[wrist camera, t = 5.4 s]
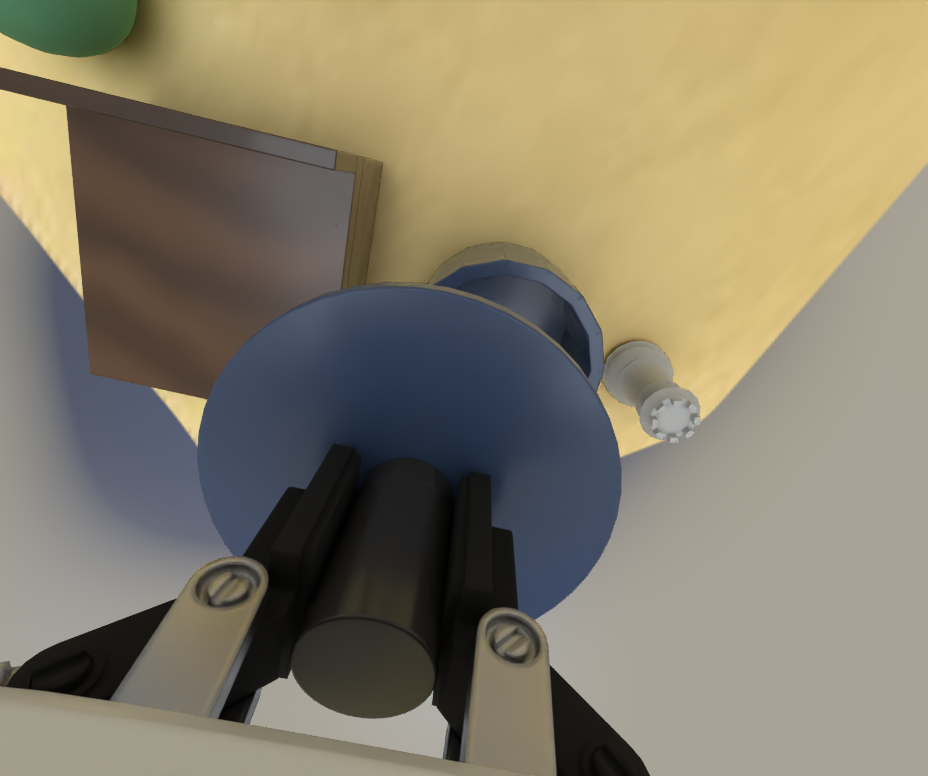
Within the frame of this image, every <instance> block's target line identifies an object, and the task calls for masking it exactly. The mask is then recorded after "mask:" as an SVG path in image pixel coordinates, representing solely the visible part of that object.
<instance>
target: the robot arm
mask: <svg viewBox="0 0 928 776" xmlns="http://www.w3.org/2000/svg"><path fill="white" fill-rule="evenodd" d="M361 459H362V455H361V454H356V453H355V448H354V447H350V446H345V445H340V444H333V445H332V447H331V448H330V450H329V452H328V453H327V455H326V457H325V458H324V460H323V462H322V463H321V465H320V467H319V468H318V470H317V472H316V473H315V475H314V477H313V478H312V480H311V482H310V483H309V485H308V487H307V488H306V489H301V488H296V487H288V489H287V490H286V491H285V492H284V494H283V495H282V497H281V498H280V500H279V501H278V503H277V504H276V506H275V507H274V509H273V510H272V512H271V513H270V515H269V517H268V518H267V520H266V521H265V523H264V524H263V526H262V527H261V529H260V530H259V532H258V533H257V535H256V536H255V538H254V539H253V541H252V542H251V544H250V545H249V547H248V548H247V550H246V551H245V553H244V554H243V556H231V557H225V558H220V559H217V560H214V561H212V562H209V563H207V564H206V565H204V566H203V567H201V568H200V569H198V570H197V571H196V573H194V575H193V576H192V577H191V578H190V579H189V581H188V582H187V584H186V585H185V587H184V588H183V590H182V592H181V593H180V594H179V596H178V598H176V599H174V600H171V601H169V602H166V603H163V604H161V605H158V606H155V607H153V608H150V609H147V610H145V611H142V612H140V613H137V614H135V615H132V616H129V617H126V618H124V619H121V620H118V621H116V622H113V623H111V624H108V625H105V626H103V627H100V628H97V629H95V630H92V631H89V632H87V633H84V634H82V635H79V636H76V637H74V638H71V639H68V640H66V641H63V642H61V643H58V644H56V645H54V646H51V647H49V648H47V649H45V650H43V651H41V652H39V653H38V654H36V655H35V656H34V657H32V658H31V659H29V660H28V661H27V662H25V663H24V664H23V665H22V666H17V667H12V668H11V666H10V662H9V661H6V662H1V663H0V776H650V775H649V773H648V771H647V769H646V767H645V765H644V763H643V761H642V760H641V758H640V757H639V756H638V755H637V754H636V753H635V751H634V750H633V749H632V748H631V747H630V746H629V745H628V744H627V742H626V741H625V740H624V739H623V738H622V737H621V736H620V735H619V734H618V733H617V732H616V731H615V730H614V729H613V728H612V727H611V726H610V725H609V724H608V723H607V722H606V721H605V720H604V719H603V718H602V717H601V716H600V715H599V714H598V713H597V712H596V711H595V710H594V709H593V708H592V707H591V706H590V705H589V704H588V703H587V702H586V701H585V700H584V699H583V698H582V697H581V696H580V695H579V694H578V693H577V692H576V691H575V690H574V689H573V688H572V687H571V686H570V685H569V684H568V683H567V682H566V681H565V680H564V679H563V678H562V677H561V676H560V675H559V674H558V673H557V672H556V671H555V670H554V669H553V668H552V667H551V666H550V665H549V649H548V642H547V639H546V635H545V633H544V632H543V630H542V628H541V627H540V625H539V624H538V623H537V622H536V621H535V620H534V619H533V618H532V617H530V616H529V615H527V614H526V613H524V612H522V611H519V610H518V597H517V584H516V570H515V557H514V544H513V534H512V531H511V530H508V529H503V528H498V527H493V526H492V510H491V475H488V474H483V473H478V472H473V471H470V474H469V476H465V475H461V479H460V483H459V487H458V491H457V495H456V499H455V503H454V509H453V519H452V529H451V539H450V548H449V558H448V568H447V577H446V587H445V597H444V606H443V616H442V626H441V630H442V641H441V651H440V662H439V672H438V679H437V683H436V685H435V688H434V691H433V701H432V705H434V706H437V708H438V710H439V711H440V712H441V714H442V715H443V716H444V718H445V719H446V720H447V722H448V727H447V731H446V738H445V746H444V753H443V759H440V758H435V757H429V756H423V755H418V754H413V753H407V752H402V751H396V750H390V749H385V748H379V747H373V746H368V745H363V744H357V743H351V742H346V741H340V740H334V739H329V738H323V737H318V736H312V735H306V734H301V733H295V732H289V731H283V730H278V729H272V728H267V727H261V726H255V725H249V724H250V721H251V718H252V716H253V714H254V711H255V708H256V705H257V703H258V700H259V698H260V694H261V689H262V687H263V686H265V685H267V684H269V683H271V682H273V681H274V680H276V679H278V678H279V677H280V678H285V679H287V678H288V675H289V673H290V671H291V665H290V653H291V647H292V645H293V643H294V640H295V638H296V635H297V633H298V631H299V628H300V626H301V624H302V621H303V619H304V616H305V614H306V612H307V609H308V607H309V605H310V602H311V600H312V598H313V595H314V593H315V591H316V588H317V586H318V583H319V581H320V579H321V576H322V574H323V572H324V569H325V567H326V565H327V562H328V560H329V558H330V555H331V553H332V550H333V548H334V546H335V543H336V541H337V539H338V536H339V534H340V532H341V529H342V527H343V524H344V522H345V520H346V517H347V515H348V513H349V510H350V508H351V506H352V503H353V501H354V499H355V496H356V494H357V487H358V480H359V473H360V466H361Z"/></svg>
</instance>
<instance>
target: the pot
mask: <svg viewBox="0 0 928 776" xmlns="http://www.w3.org/2000/svg"><path fill="white" fill-rule="evenodd" d="M428 284H430V285H436V286H443V287H449V288H453V289H456V290H460V291H463V292H467V293H470V294H474V295H477V296H480V297H483V298H485V299H487V300H490V301H492V302H494V303H496V304H499V305H501V306H503V307H506V308H508V309H510V310H511V311H513V312H515V313H516V314H518V315H520V316H521V317H523V318H525V319H526V320H528V321H530V322H531V323H533V324H535V325H536V326H537V327H538V328H540V329H541V330H542V331H543V332H545V333H546V334H547V335H548V336H550V337H551V338H552V339H553V340H555V341H556V342H557V343H558V344H559V345H560V346H561V347H562V348H563V349H564V350H565V351H566V352H567V353H568V354H569V355H570V356H571V358H572V359H573V360H574V361H575V362H576V363H577V364H578V365H579V367H580V368H581V370H582V371H583V372H584V374H585V375H586V377H587V378H588V380H589V381H590V382H591V384H592V385H593V387H594V388H595V390H596V392H597V389H598V386H599V384H600V381H601V378H602V375H603V373H604V354H603V339H602V331H601V328H600V326H599V325H598V323H597V321H596V319H595V317H594V315H593V313H592V312H591V310H590V308H589V306H588V304H587V302H586V300H585V299H584V297H583V296H582V294H581V293H580V292H579V291H578V290H577V289H576V288H575V287H574V285H573V284H572V283H571V282H570V281H569V280H568V279H567V278H566V277H565V276H564V274H563V273H562V272H561V271H560V270H559V269H558V268H557V267H555V266H554V265H553V264H552V263H550V262H549V261H548V260H547V259H545V258H544V257H542V256H541V255H540V254H538V253H537V252H536V251H534V250H533V249H529V248H525V247H522V246H519V245H515V244H509V243H504V242H497V243H487V244H481V245H477V246H473V247H469V248H466V249H465V250H463V251H462V252H460V253H458V254H456V255H454V256H453V257H452V258H450V259H449V260H448V261H446V262H445V263H443V264H442V265H441V266H440V267H439V268H438V269H437V271H436V272H435V274H434V275H433V277H432V278H431V280H430V281H429V283H428Z"/></svg>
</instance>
